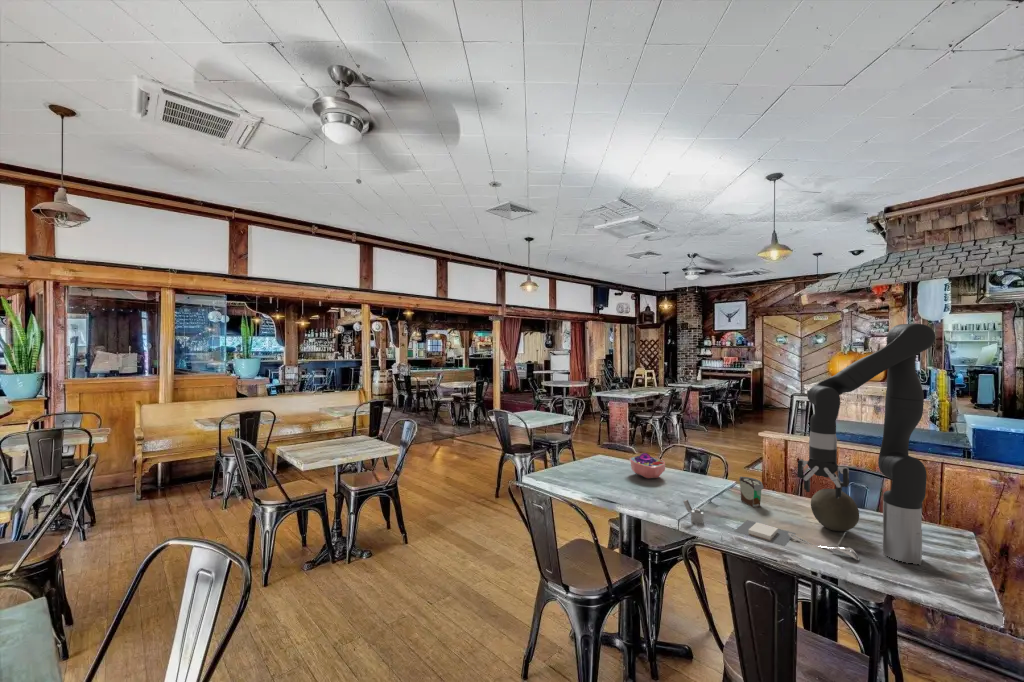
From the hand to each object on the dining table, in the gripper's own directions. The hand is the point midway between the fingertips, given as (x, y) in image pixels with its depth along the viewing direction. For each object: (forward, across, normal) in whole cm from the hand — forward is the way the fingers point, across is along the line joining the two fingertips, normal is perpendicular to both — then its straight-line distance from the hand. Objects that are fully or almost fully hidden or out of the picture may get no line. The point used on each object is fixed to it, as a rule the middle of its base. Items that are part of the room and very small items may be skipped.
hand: (822, 494), depth 145 cm
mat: (+18, +17, +1) cm, 25 cm away
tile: (+17, +17, -2) cm, 24 cm away
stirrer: (+18, 0, 0) cm, 18 cm away
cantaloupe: (+18, 0, -20) cm, 27 cm away
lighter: (+19, +39, +10) cm, 44 cm away
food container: (+18, +29, -27) cm, 44 cm away
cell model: (+19, +79, -28) cm, 86 cm away
